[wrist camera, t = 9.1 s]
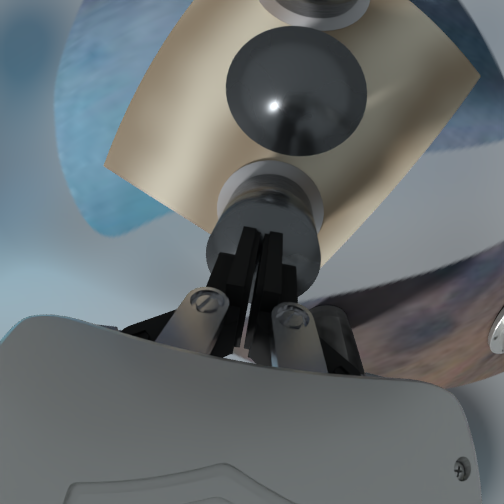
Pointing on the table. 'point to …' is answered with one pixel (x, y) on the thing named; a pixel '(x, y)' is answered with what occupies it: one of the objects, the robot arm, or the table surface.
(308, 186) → the mount plate
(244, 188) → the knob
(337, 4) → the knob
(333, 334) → the beverage cup
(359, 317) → the table surface
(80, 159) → the table surface
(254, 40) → the knob mid
